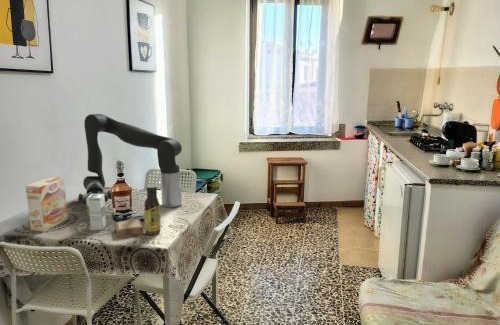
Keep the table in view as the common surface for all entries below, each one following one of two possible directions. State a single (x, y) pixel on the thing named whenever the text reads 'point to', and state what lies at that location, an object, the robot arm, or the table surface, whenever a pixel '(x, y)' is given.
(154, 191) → the sauce bottle
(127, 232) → the pedestal
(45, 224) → the coffeecake box
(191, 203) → the table surface
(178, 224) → the table surface
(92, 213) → the syrup box
